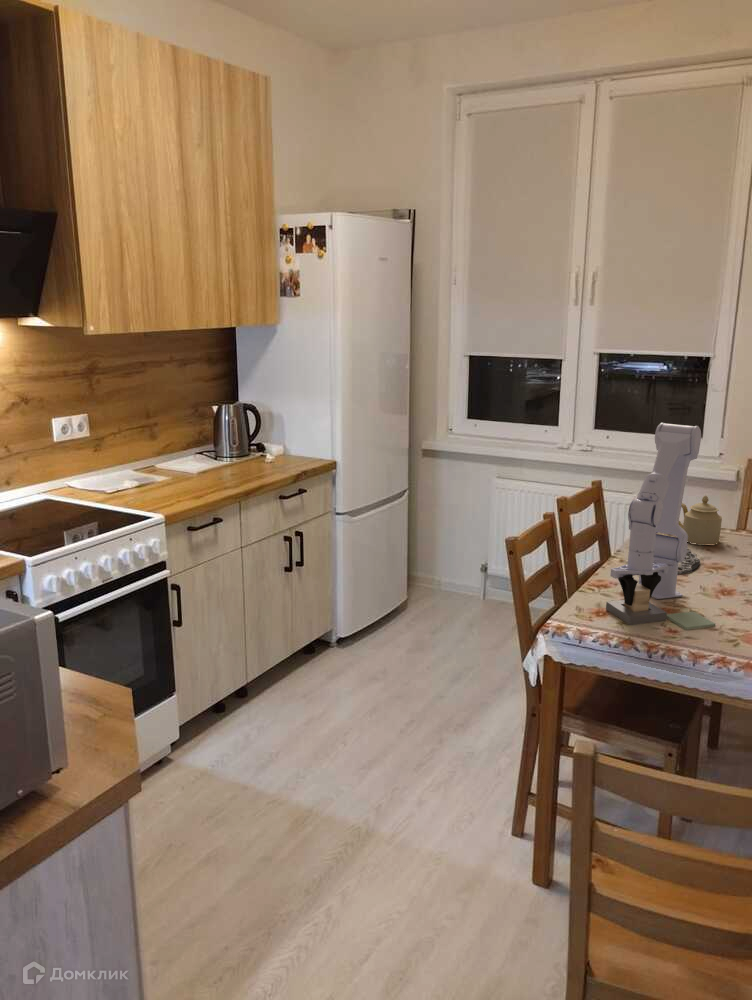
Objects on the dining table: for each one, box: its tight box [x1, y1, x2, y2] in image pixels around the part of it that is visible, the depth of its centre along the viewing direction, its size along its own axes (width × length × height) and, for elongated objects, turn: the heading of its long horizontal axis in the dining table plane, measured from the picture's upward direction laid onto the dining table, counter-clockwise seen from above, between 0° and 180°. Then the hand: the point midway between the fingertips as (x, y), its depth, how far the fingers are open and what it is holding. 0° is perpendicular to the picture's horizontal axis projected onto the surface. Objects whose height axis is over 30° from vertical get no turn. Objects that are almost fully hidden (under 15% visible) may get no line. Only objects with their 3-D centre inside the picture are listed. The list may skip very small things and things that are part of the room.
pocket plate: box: [605, 599, 668, 626], centre depth 188 cm, size 10×10×2 cm
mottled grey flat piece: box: [677, 548, 701, 576], centre depth 229 cm, size 28×2×10 cm
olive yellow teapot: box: [678, 494, 723, 544], centre depth 247 cm, size 15×11×15 cm
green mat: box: [666, 610, 716, 631], centre depth 184 cm, size 8×8×1 cm
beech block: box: [624, 583, 651, 612], centre depth 187 cm, size 4×4×7 cm
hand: (636, 603), depth 187 cm, fingers closed on beech block, 4 cm apart
